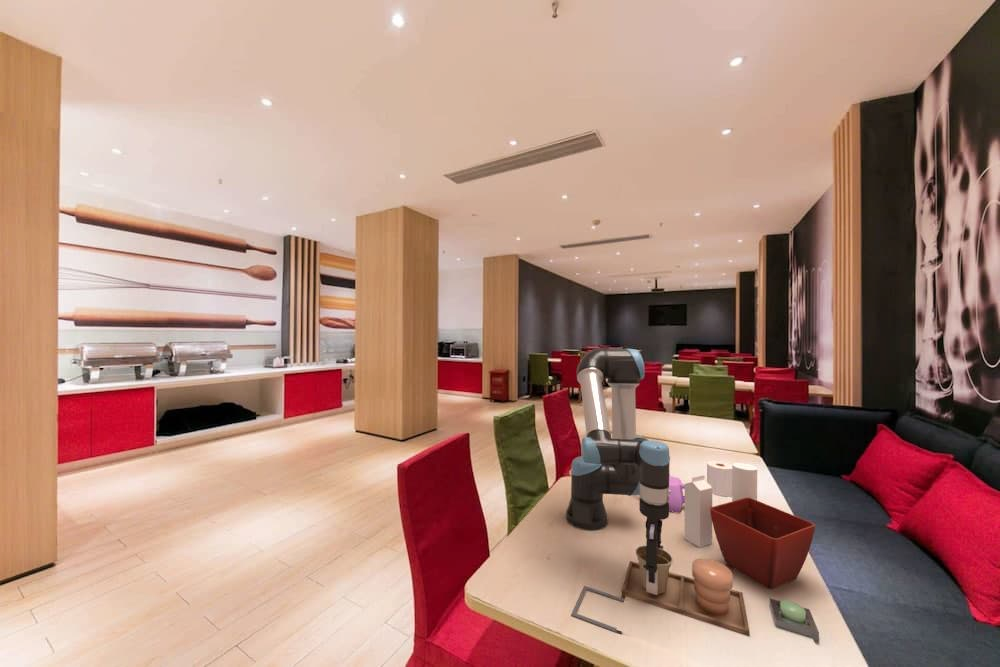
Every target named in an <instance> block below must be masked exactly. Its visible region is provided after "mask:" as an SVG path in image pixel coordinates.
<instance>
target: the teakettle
mask: <svg viewBox="0 0 1000 667" xmlns="http://www.w3.org/2000/svg"><path fill="white" fill-rule="evenodd" d="M685 484H686V483H682V481H681V479H680V478H678V477H674V476H671V474H670V473H669V490H671V491H672V493H671V494H669V501H668V503H669V511H673V512H672V513H674V512H679V513H680V512H681V509H682V507H683V504H685V495H684V490H685Z"/></svg>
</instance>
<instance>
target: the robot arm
mask: <svg viewBox="0 0 1000 667" xmlns="http://www.w3.org/2000/svg"><path fill="white" fill-rule="evenodd" d="M644 378H645V363H644V359H643V357H642V354H641V352H640V351H639V350H637V349H635V348H634V349H633V348H599V347H598V348H594V349H591V350H589V351H588V352H587V353H585V354H584V356H582V358H580V361H579V363H578V364H577V368H576V380H577V382H578V383H579V384H580V389H581V390H580V392H581V398H582V407H583V408H582V409H583V417H584V425H585V432H586V433H585V434H586V437H583V438H582V439H581V443H580V445H581V446H580V448H581V449H580V451H581V452H580V453H581V455H580V456H579V455H578V456H577V457H575V458H574V459H572V462H571V470H570V475H571V479H570V480H571V481H570V482H571V484H570V486H571V487H570V488H571V489H570V493H571V494H570V498H569V499H570V500H569V503H568V506H567V508H566V513H565V515H566V516H565V517H566V518H565V519H566V521H567V522H568V523H569V525H571V526H574V527H576V528H577V529H581V530H586V531H597V530H601V529H603V528H605V527H607V525H608V518H609V517H608V513H607V510H606V506H605V504H604V500H603V499H604V495H616V496H617V495H619V496H629V497H631V496H639V506H638V507H639V508H638V509H639V512H640V514H641V515H643V517H646V521H645V528H646V530H645V538H646V542H645V546H646V565H643V567H644V568H646V592H649V593H652V594H655V595H657V594H658V569H657V553H658V548H661V549H663V550H664V545H661V543H662V527H663V521H664V520H666V519H668V518H669V516H670V512H669V503H668V501H669V494H671V493H672V491H671V490H669V474H670V462H671V461H670V460H671V456H670V448H669V445H667V444H666V443H664V442H662V441H659V440H650V439H648V438H646V437H644V436H639V435H637V423H636V422H637V418H636V416H637V415H636V414H637V413H636V412H637V410H636V407H637V406H636V389H637V387H638V386H640V381H641V380H643V379H644ZM604 379H606V380H607V384H608V386H609V387H610V388H611V426H610V421H609V417H608V416H609V415H608V411H607V405H606V398H605V393H604V388H603V383H602V382H603V381H604Z"/></svg>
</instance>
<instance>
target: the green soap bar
mask: <svg viewBox="0 0 1000 667" xmlns="http://www.w3.org/2000/svg"><path fill="white" fill-rule="evenodd" d="M780 601H781V602H780V611H779V612H780V615H781V618H784V619H788V620H791V621H794V622H798V623H801V624H805V625H807V624H806V611H805V609H804V608H805V607H804V606H801V605H800V604H798V603H797V602H795V601H792V600H787V599H784V600H780Z"/></svg>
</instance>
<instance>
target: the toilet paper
mask: <svg viewBox="0 0 1000 667" xmlns="http://www.w3.org/2000/svg"><path fill="white" fill-rule="evenodd" d="M706 482H707V483H708V484H709V485H710V486H711V487H712V495H715V496H719V497H732V464H730V463H727V462H725V461H724V462H723V461H715V460H714V461H712V460H710V461H708V462H707V463H706Z"/></svg>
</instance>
